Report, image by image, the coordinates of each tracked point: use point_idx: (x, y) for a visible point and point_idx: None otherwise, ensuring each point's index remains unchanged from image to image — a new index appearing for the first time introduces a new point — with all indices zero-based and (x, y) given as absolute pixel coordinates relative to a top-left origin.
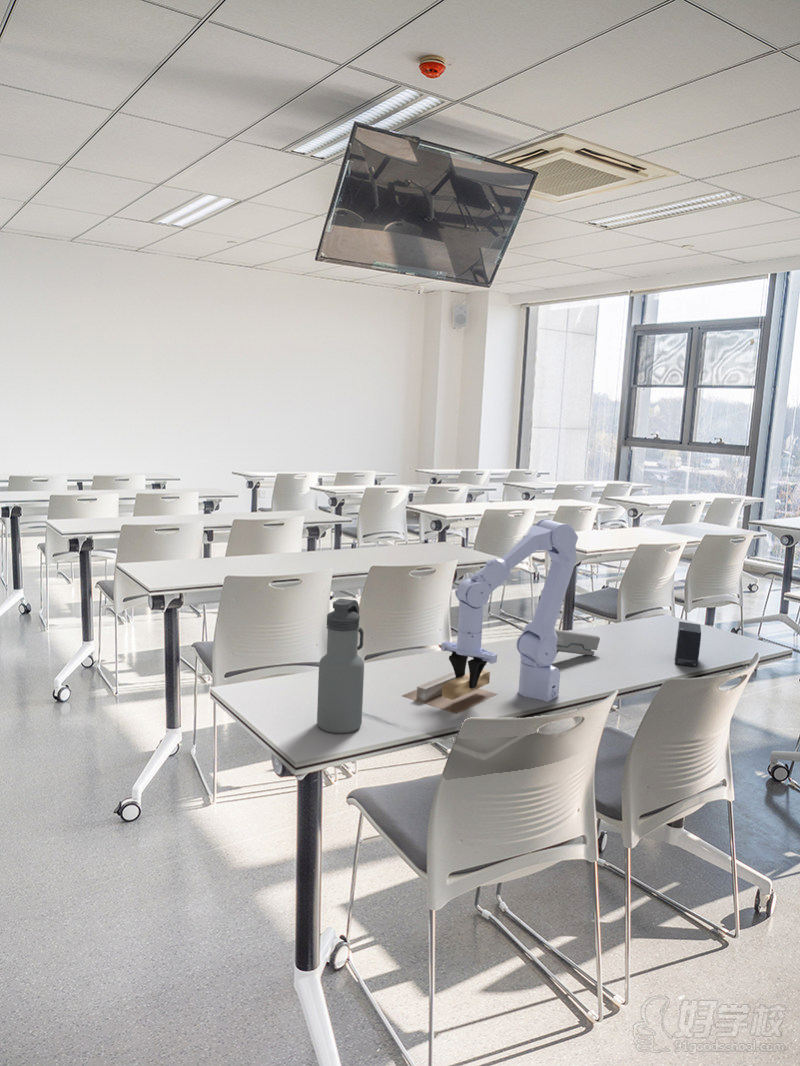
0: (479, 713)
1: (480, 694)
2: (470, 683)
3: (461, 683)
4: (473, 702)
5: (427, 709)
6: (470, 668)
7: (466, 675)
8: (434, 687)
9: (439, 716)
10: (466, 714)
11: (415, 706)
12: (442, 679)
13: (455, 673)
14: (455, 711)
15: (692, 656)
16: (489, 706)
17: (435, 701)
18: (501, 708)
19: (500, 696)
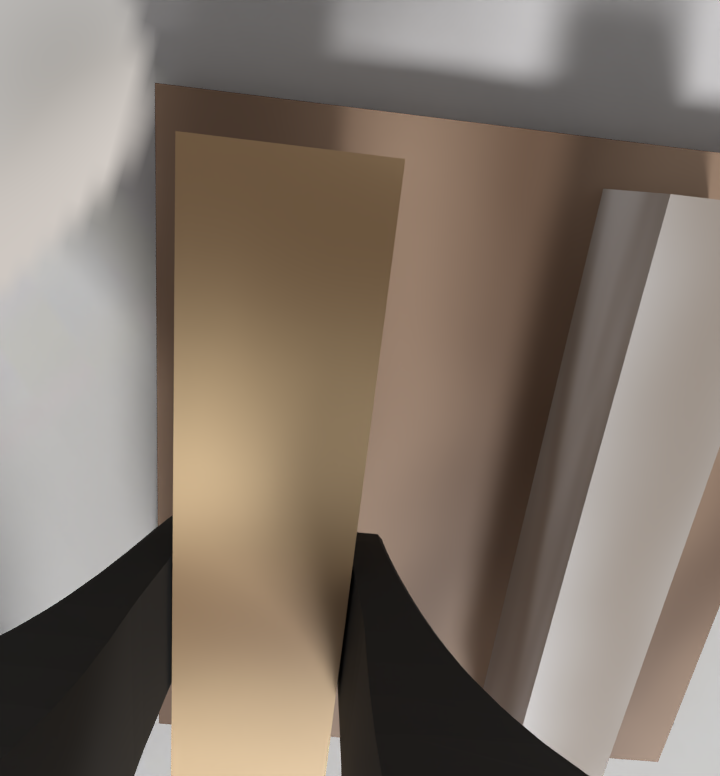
0: (77, 340)
1: None
2: (163, 541)
3: (186, 395)
4: None
5: (515, 107)
6: (33, 685)
7: (308, 692)
8: (603, 389)
9: (323, 2)
10: (148, 241)
11: (656, 102)
12: (604, 602)
13: (406, 608)
14: (197, 132)
15: None
16: (111, 526)
17: (502, 259)
18: (17, 544)
19: (168, 729)
